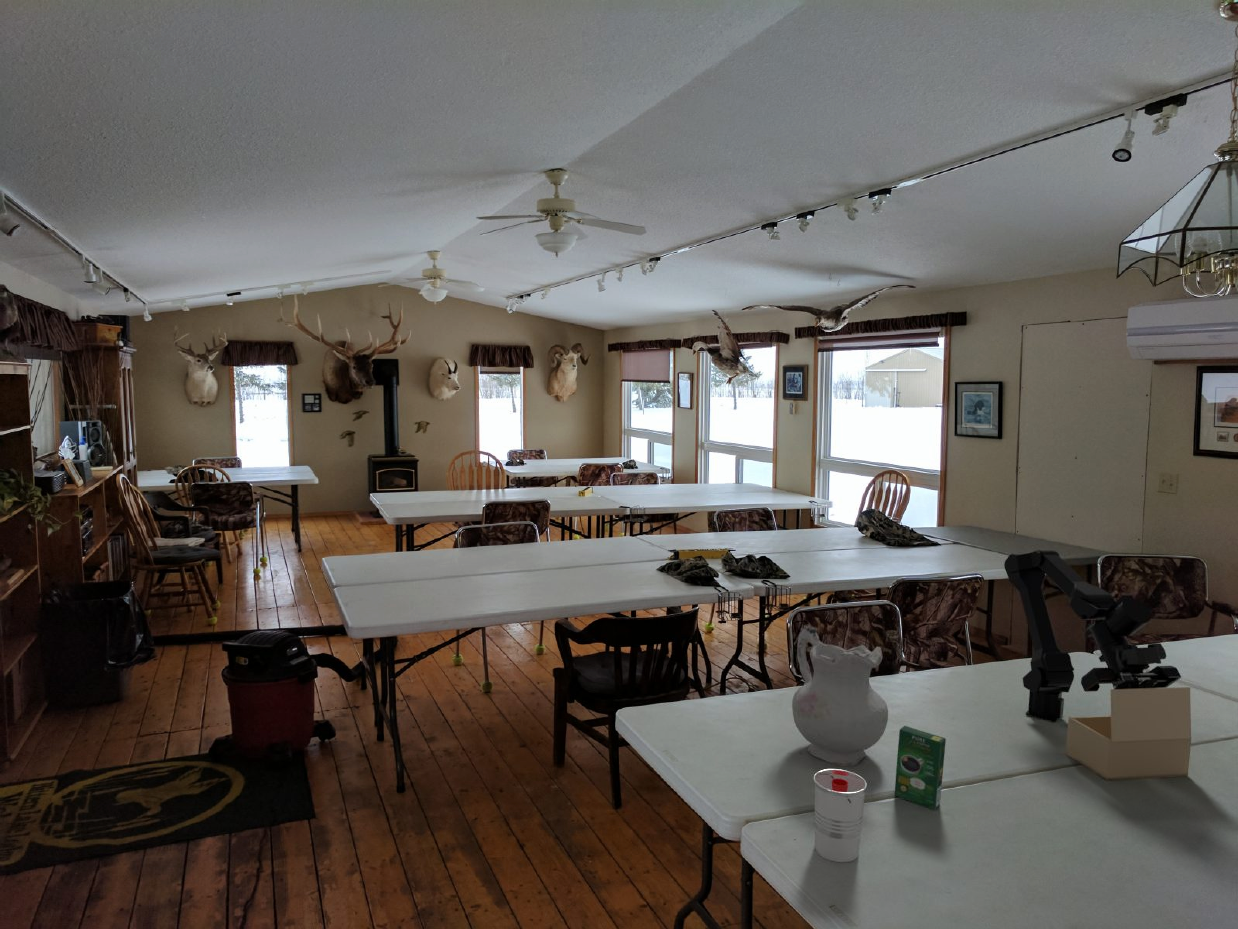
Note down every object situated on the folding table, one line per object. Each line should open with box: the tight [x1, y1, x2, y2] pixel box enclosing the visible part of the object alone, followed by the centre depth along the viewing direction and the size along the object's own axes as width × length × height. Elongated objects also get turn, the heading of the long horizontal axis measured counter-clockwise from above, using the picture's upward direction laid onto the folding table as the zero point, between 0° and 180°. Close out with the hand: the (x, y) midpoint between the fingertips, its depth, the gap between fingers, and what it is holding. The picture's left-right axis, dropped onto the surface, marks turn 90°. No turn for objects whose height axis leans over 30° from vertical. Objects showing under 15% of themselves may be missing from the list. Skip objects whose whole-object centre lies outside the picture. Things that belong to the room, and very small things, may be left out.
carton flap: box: [1110, 686, 1192, 742], centre depth 167 cm, size 10×17×1 cm
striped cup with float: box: [812, 768, 868, 863], centre depth 138 cm, size 10×8×12 cm
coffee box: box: [893, 725, 947, 811], centre depth 156 cm, size 8×3×13 cm, turn 49°
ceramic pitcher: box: [791, 625, 889, 768], centre depth 176 cm, size 22×20×25 cm
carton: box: [1065, 714, 1192, 781], centre depth 173 cm, size 12×18×8 cm, turn 98°
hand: (1149, 719), depth 167 cm, fingers closed, pressing on carton flap
